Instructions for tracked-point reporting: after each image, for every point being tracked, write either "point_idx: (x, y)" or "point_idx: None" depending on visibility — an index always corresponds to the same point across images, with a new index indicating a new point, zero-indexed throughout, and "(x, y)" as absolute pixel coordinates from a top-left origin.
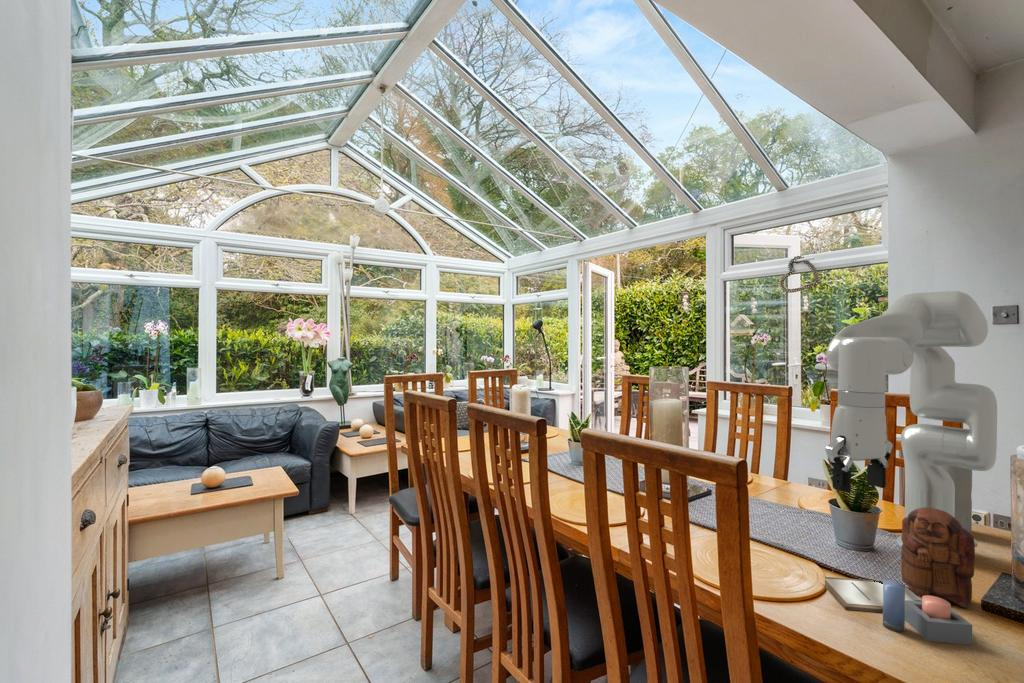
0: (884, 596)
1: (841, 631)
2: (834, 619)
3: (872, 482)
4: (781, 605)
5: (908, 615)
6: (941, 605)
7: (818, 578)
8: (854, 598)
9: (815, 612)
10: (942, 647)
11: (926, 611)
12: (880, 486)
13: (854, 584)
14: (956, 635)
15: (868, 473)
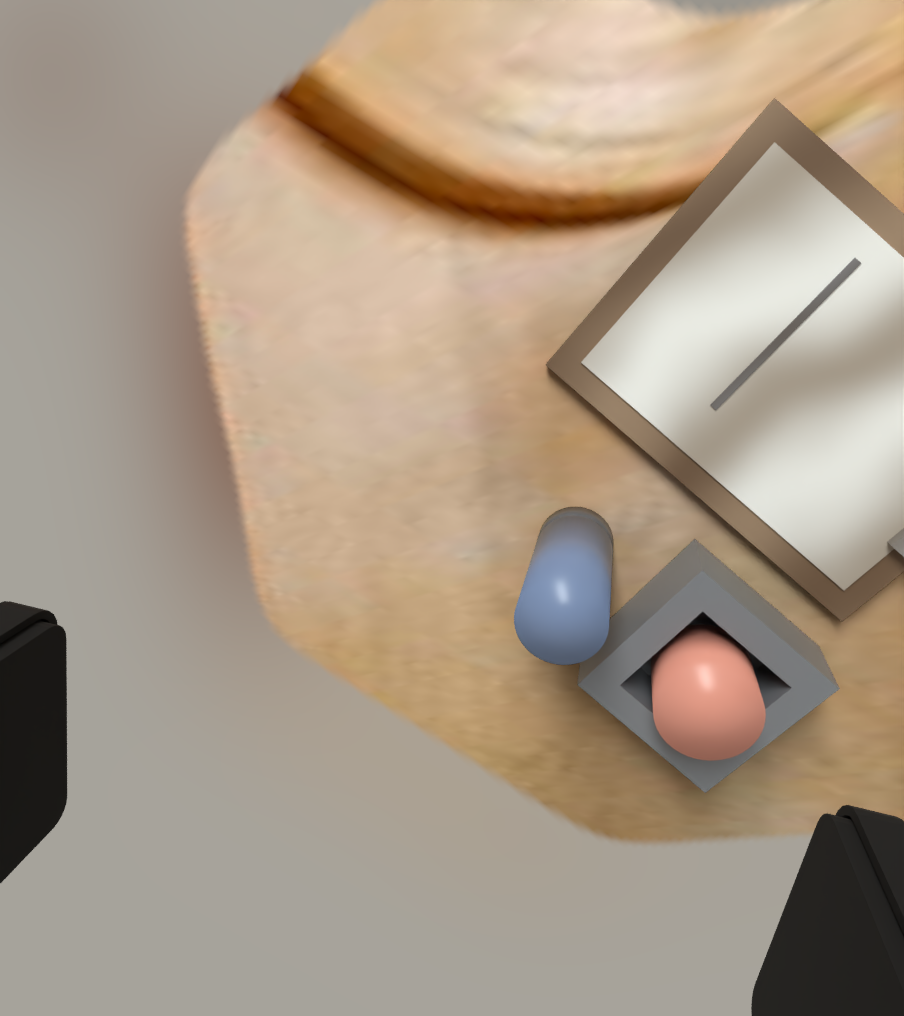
0: (532, 567)
1: (358, 437)
2: (420, 379)
3: (813, 912)
4: (317, 179)
5: (669, 578)
6: (680, 736)
7: (787, 98)
8: (664, 357)
9: (401, 303)
10: None
11: (657, 667)
12: (756, 991)
13: (838, 283)
14: None
15: (883, 991)
